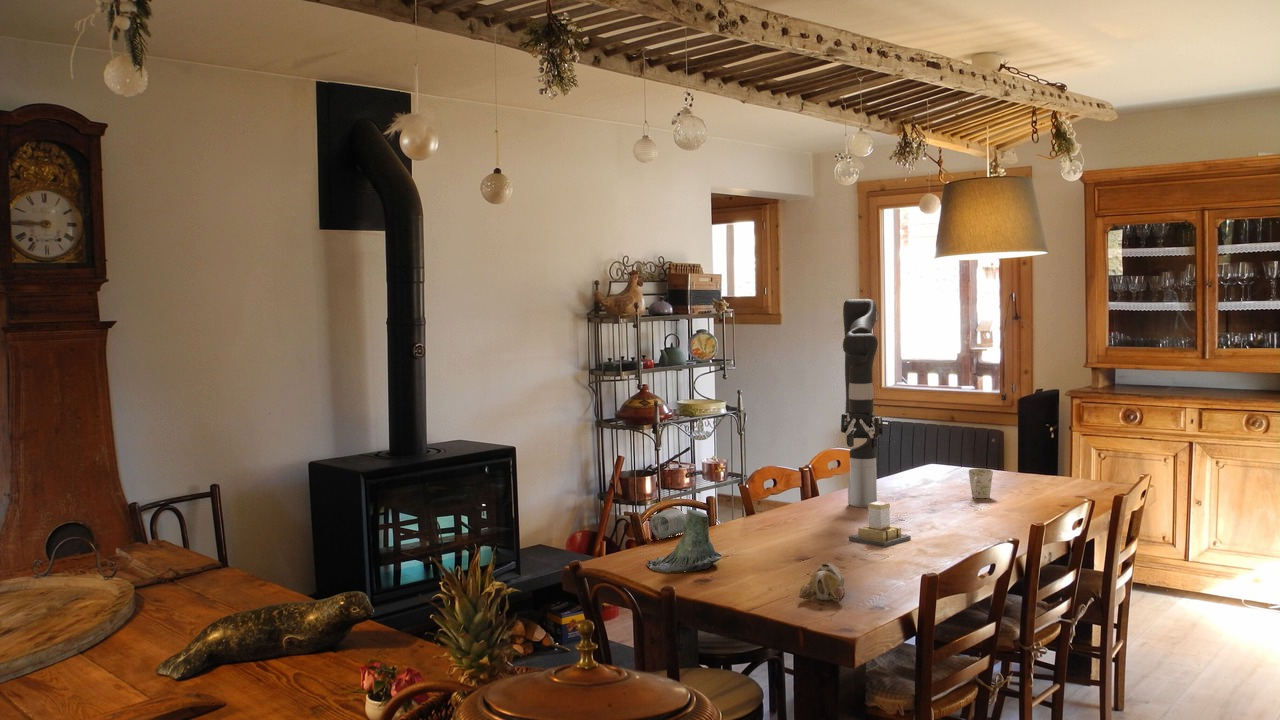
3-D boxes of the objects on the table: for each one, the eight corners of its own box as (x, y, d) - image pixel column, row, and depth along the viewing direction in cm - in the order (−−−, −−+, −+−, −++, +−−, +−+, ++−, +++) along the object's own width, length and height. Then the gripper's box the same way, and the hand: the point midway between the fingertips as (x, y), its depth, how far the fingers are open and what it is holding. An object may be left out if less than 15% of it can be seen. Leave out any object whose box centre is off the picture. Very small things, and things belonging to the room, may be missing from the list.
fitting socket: (848, 540, 296) (848, 528, 296) (875, 533, 304) (874, 521, 304) (884, 547, 286) (884, 534, 286) (910, 539, 294) (910, 527, 294)
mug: (995, 496, 358) (995, 469, 358) (987, 502, 348) (987, 474, 347) (972, 494, 363) (971, 468, 362) (963, 500, 352) (963, 473, 352)
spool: (667, 532, 298) (661, 501, 303) (646, 542, 304) (640, 512, 308) (697, 535, 308) (690, 505, 312) (676, 545, 313) (670, 516, 318)
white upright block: (868, 536, 295) (867, 503, 295) (877, 533, 298) (877, 501, 298) (881, 538, 292) (880, 505, 291) (890, 535, 295) (889, 503, 294)
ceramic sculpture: (852, 556, 241) (840, 576, 227) (853, 590, 242) (841, 612, 228) (809, 554, 245) (795, 572, 231) (811, 587, 246) (797, 608, 232)
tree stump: (651, 558, 282) (665, 498, 282) (719, 576, 279) (733, 515, 278) (640, 571, 264) (655, 507, 264) (712, 590, 261) (727, 526, 260)
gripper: (835, 396, 309) (836, 447, 310) (872, 400, 298) (873, 452, 299) (849, 394, 314) (850, 444, 315) (887, 397, 303) (888, 449, 304)
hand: (861, 448), depth 307 cm, fingers open, 8 cm apart
